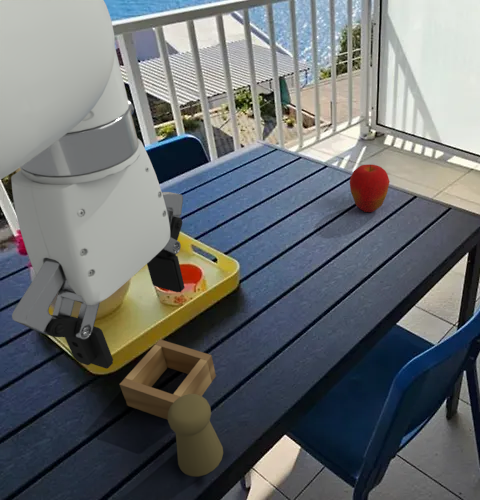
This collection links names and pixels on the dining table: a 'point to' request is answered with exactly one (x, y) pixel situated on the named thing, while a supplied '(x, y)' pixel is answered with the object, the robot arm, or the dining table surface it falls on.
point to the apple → (369, 187)
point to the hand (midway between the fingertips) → (135, 321)
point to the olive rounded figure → (194, 435)
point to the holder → (154, 365)
